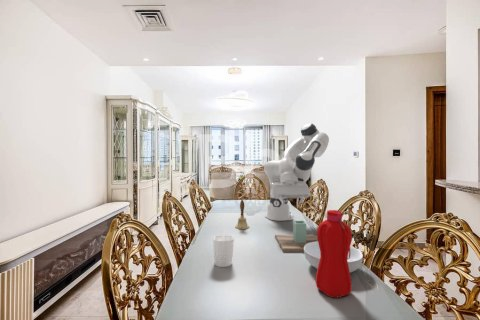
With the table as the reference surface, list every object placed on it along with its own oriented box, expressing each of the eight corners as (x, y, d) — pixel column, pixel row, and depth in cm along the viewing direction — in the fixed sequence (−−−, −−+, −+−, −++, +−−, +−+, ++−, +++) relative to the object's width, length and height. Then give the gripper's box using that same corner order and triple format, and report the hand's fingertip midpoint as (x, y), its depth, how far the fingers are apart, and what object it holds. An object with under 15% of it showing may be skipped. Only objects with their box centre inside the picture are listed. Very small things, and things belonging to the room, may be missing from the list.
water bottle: (336, 304, 74) (338, 216, 73) (311, 286, 84) (312, 208, 83) (360, 297, 77) (362, 213, 77) (333, 281, 87) (334, 206, 87)
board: (274, 237, 134) (274, 234, 134) (313, 237, 135) (313, 234, 135) (282, 251, 114) (282, 248, 114) (327, 251, 115) (328, 248, 115)
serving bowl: (300, 275, 92) (300, 256, 92) (306, 254, 111) (306, 238, 111) (365, 286, 85) (366, 265, 84) (359, 261, 104) (360, 244, 104)
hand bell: (232, 228, 151) (233, 200, 151) (238, 224, 158) (238, 198, 158) (246, 229, 148) (246, 201, 147) (251, 226, 155) (251, 199, 155)
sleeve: (292, 239, 127) (293, 220, 127) (303, 239, 127) (303, 220, 127) (295, 242, 122) (295, 223, 122) (306, 242, 122) (306, 223, 122)
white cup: (217, 269, 96) (218, 242, 96) (210, 261, 103) (210, 236, 103) (237, 265, 99) (237, 239, 99) (228, 258, 106) (228, 233, 106)
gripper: (270, 179, 143) (273, 199, 133) (308, 179, 143) (313, 200, 134) (269, 186, 147) (271, 206, 138) (305, 186, 148) (310, 207, 138)
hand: (292, 203), depth 136 cm, fingers open, 8 cm apart
